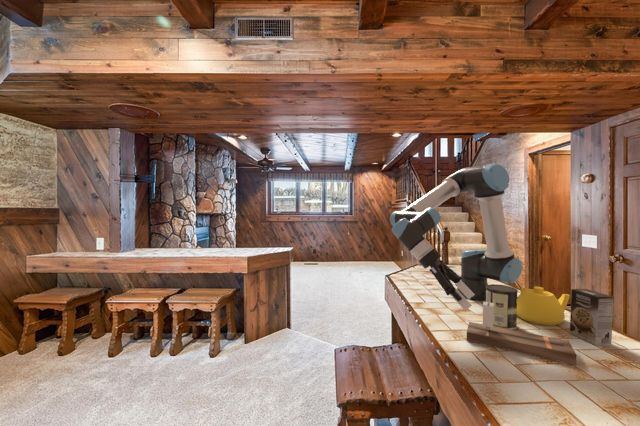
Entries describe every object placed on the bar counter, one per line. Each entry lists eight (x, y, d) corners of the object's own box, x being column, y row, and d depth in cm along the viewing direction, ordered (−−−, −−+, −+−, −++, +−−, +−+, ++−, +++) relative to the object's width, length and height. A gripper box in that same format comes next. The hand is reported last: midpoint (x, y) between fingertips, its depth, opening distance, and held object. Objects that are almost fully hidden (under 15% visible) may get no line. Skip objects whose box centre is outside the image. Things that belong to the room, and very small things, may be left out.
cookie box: (568, 333, 104) (570, 288, 103) (584, 332, 104) (586, 288, 104) (595, 345, 95) (597, 296, 94) (612, 344, 95) (614, 296, 95)
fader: (482, 325, 101) (483, 301, 101) (492, 327, 99) (493, 302, 99) (482, 330, 98) (483, 304, 97) (492, 332, 96) (493, 306, 96)
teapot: (530, 326, 110) (531, 293, 109) (501, 308, 128) (502, 280, 128) (585, 328, 109) (586, 294, 108) (548, 310, 127) (549, 281, 127)
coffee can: (509, 320, 115) (510, 285, 115) (522, 331, 105) (523, 292, 105) (481, 318, 117) (482, 283, 117) (490, 328, 107) (491, 290, 107)
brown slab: (468, 329, 106) (468, 321, 106) (568, 350, 92) (568, 340, 92) (466, 340, 97) (466, 331, 97) (576, 365, 83) (576, 354, 83)
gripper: (425, 255, 120) (464, 298, 112) (409, 266, 98) (457, 320, 91) (439, 244, 117) (480, 287, 109) (426, 252, 96) (476, 306, 88)
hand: (470, 302), depth 100 cm, fingers open, 13 cm apart
